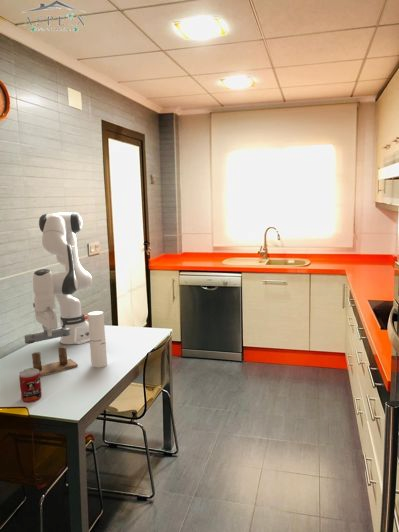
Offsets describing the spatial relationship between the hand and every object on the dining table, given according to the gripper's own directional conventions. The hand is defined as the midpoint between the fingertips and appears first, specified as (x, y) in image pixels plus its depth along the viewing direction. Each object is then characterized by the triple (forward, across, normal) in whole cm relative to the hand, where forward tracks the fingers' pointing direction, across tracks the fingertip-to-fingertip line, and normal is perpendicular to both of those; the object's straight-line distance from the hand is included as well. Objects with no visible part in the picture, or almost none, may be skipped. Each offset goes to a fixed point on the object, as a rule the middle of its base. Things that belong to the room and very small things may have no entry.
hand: (47, 334), depth 207 cm
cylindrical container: (+17, -9, -20) cm, 28 cm away
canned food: (+17, -26, +16) cm, 35 cm away
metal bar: (+2, 0, 0) cm, 2 cm away
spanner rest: (+17, 0, 0) cm, 17 cm away
